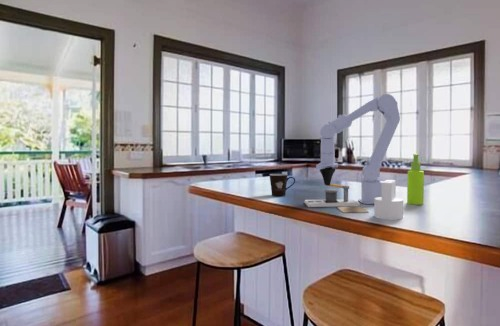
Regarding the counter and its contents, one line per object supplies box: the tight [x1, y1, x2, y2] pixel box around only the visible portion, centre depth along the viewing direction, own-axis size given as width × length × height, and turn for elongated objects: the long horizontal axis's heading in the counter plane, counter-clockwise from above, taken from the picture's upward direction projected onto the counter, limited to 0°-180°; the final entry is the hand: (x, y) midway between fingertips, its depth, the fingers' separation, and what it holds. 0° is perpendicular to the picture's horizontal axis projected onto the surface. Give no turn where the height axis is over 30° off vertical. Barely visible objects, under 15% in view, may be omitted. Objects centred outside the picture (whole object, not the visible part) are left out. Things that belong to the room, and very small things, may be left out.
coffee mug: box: [269, 173, 296, 197], centre depth 160 cm, size 12×9×10 cm
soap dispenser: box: [406, 153, 425, 206], centre depth 135 cm, size 6×7×20 cm
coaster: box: [336, 206, 369, 214], centre depth 124 cm, size 9×9×1 cm
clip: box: [325, 183, 350, 190], centre depth 140 cm, size 12×3×1 cm, turn 29°
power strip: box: [304, 189, 360, 208], centre depth 136 cm, size 20×9×6 cm, turn 89°
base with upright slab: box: [373, 179, 404, 221], centre depth 113 cm, size 9×9×12 cm
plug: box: [324, 188, 338, 203], centre depth 136 cm, size 5×5×6 cm
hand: (327, 185), depth 144 cm, fingers closed
